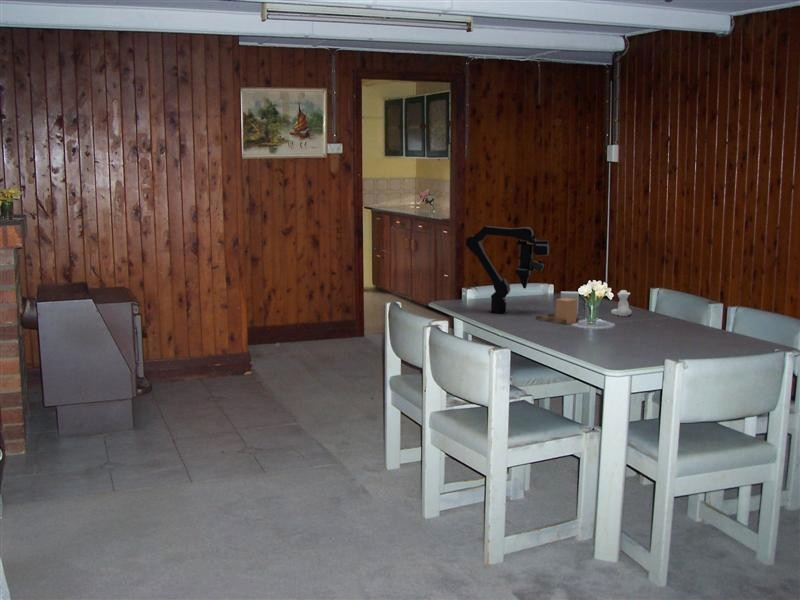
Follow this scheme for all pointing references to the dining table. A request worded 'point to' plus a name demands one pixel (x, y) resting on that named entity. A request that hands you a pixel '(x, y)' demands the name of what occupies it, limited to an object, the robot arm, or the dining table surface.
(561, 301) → the block
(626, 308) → the white creature statuette
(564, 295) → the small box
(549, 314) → the chute
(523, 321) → the dining table surface
